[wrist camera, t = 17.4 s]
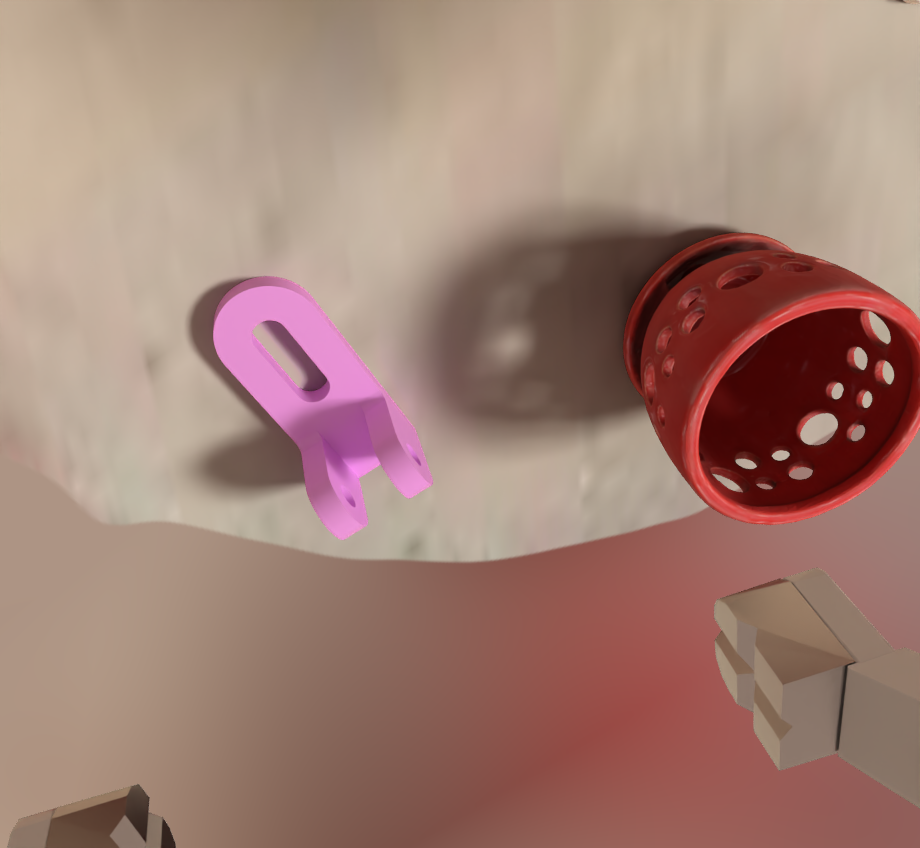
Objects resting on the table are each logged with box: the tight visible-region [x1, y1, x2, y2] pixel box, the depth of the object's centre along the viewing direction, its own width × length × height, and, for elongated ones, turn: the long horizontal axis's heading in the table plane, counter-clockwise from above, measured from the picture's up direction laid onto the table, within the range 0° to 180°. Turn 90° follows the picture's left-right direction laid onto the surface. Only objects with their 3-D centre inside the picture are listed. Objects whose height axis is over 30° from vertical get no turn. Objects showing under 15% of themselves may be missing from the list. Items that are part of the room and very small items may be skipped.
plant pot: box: [623, 233, 920, 525], centre depth 46 cm, size 13×13×12 cm
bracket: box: [213, 276, 433, 540], centre depth 44 cm, size 13×6×7 cm, turn 30°
